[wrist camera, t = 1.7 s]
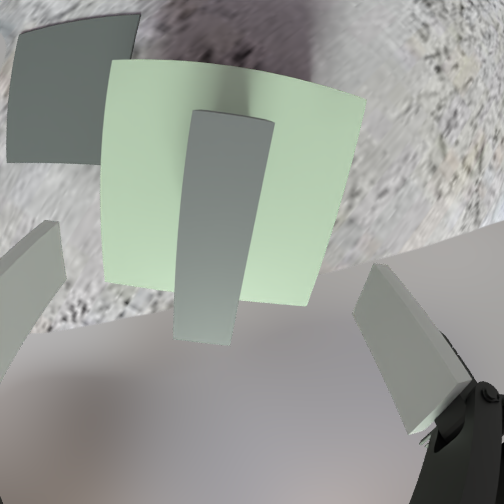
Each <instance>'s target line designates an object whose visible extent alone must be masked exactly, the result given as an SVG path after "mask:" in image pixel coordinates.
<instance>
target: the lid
mask: <svg viewBox="0 0 504 504" xmlns="http://www.w3.org/2000/svg"><path fill="white" fill-rule="evenodd" d="M366 101H367V100H366V99H363V98H361V97H358V96H355V95H352V94H349V93H346V92H343V91H339V90H336V89H333V88H330V87H326V86H323V85H319V84H316V83H312V82H308V81H304V80H300V79H296V78H292V77H288V76H283V75H279V74H274V73H269V72H264V71H259V70H253V69H247V68H241V67H235V66H228V65H220V64H212V63H202V62H191V61H176V60H148V59H132V60H112V64H111V70H110V76H109V82H108V89H107V96H106V104H105V113H104V123H103V134H102V149H101V174H100V213H101V238H102V253H103V265H104V276H105V282H110V283H116V284H122V285H129V286H135V287H142V288H148V289H155V290H162V291H169V292H174V326H173V339H176V340H185V341H192V342H201V343H210V344H219V345H230V343H231V338H232V333H233V328H234V323H235V318H236V312H237V307H238V303H239V300H244V301H254V302H263V303H274V304H285V305H298V306H307V303H308V301H309V298H310V295H311V292H312V290H313V287H314V284H315V281H316V278H317V275H318V272H319V269H320V266H321V263H322V260H323V257H324V254H325V251H326V248H327V245H328V242H329V239H330V236H331V233H332V229H333V226H334V223H335V220H336V216H337V213H338V210H339V206H340V203H341V199H342V196H343V193H344V189H345V185H346V182H347V178H348V175H349V171H350V167H351V163H352V160H353V156H354V152H355V148H356V144H357V140H358V136H359V132H360V128H361V123H362V119H363V115H364V110H365V106H366Z"/></svg>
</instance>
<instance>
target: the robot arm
mask: <svg viewBox="0 0 504 504" xmlns="http://www.w3.org/2000/svg"><path fill="white" fill-rule="evenodd" d="M66 279H67V278H66V272H65V266H64V259H63V252H62V245H61V236H60V227H59V222H57V221H48V220H45V221H43V222H42V223H41V224H39V225H38V226H37V227H36V228H35V229H33V230H32V231H31V232H30V233H29V234H27V235H26V236H25V237H24V238H23V239H21V240H20V241H19V242H18V243H17V244H16V245H15V246H13V247H12V248H11V249H10V250H9V251H8V252H7V253H6V254H5V255H3V256H2V257H1V258H0V383H1V381H2V379H3V377H4V375H5V374H6V372H7V370H8V368H9V366H10V364H11V363H12V361H13V359H14V357H15V356H16V354H17V352H18V351H19V349H20V347H21V346H22V344H23V342H24V341H25V339H26V338H27V336H28V334H29V333H30V331H31V330H32V328H33V326H34V325H35V323H36V322H37V320H38V319H39V317H40V316H41V314H42V313H43V311H44V310H45V308H46V307H47V306H48V304H49V303H50V301H51V300H52V298H53V297H54V296H55V294H56V293H57V291H58V290H59V289H60V287H61V286H62V285H63V283H64V282H65V281H66ZM352 315H353V317H354V319H355V321H356V323H357V325H358V327H359V329H360V331H361V333H362V335H363V337H364V339H365V341H366V343H367V345H368V347H369V349H370V351H371V353H372V356H373V358H374V360H375V362H376V364H377V366H378V368H379V370H380V372H381V375H382V377H383V379H384V381H385V383H386V385H387V388H388V390H389V392H390V394H391V397H392V399H393V401H394V403H395V406H396V408H397V410H398V412H399V415H400V417H401V419H402V422H403V424H404V426H405V429H406V431H407V434H408V435H410V434H413V433H417V432H420V431H424V430H425V429H426V428H427V427H428V426H429V425H430V424H431V423H432V422H433V421H435V423H436V425H437V427H436V428H434V429H433V430H432V431H431V432H430V433H429V434H428V435H427V436H426V437H424V438H423V439H422V440H421V442H420V443H419V445H422V444H424V443H425V442H426V441H427V440H428V439H430V441H429V443H428V444H427V445H425V447H426V448H427V452H426V455H425V459H424V462H423V466H422V469H421V472H420V475H419V478H418V481H417V484H416V487H415V490H414V492H413V495H412V498H411V500H410V503H409V504H504V443H502V436H503V435H504V395H502V394H499V393H498V391H497V390H496V389H495V388H494V386H492V385H491V384H489V383H487V382H484V381H482V382H479V383H477V382H476V380H475V379H474V377H473V376H472V374H471V373H470V371H469V369H468V368H467V366H466V365H465V363H464V362H463V360H462V359H461V357H460V356H459V355H457V352H456V350H455V349H454V348H452V344H451V343H450V342H449V340H448V339H447V337H446V336H445V335H444V334H443V333H441V332H440V331H439V330H438V328H437V327H436V326H435V324H434V323H433V322H432V320H431V319H430V318H429V316H428V315H427V314H426V312H425V311H424V310H423V308H422V307H421V306H420V304H419V303H418V302H417V301H416V299H415V298H414V297H413V296H412V294H411V293H410V292H409V291H408V289H407V288H406V287H405V285H404V284H403V283H402V282H401V281H400V279H399V278H398V277H397V276H396V274H395V273H394V272H393V271H392V270H391V268H390V267H389V266H388V265H383V264H376V263H374V264H373V266H372V268H371V271H370V273H369V276H368V278H367V281H366V283H365V285H364V288H363V290H362V293H361V295H360V297H359V299H358V302H357V304H356V306H355V308H354V311H353V312H352ZM0 504H3V502H2V500H1V497H0Z"/></svg>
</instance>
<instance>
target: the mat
mask: <svg viewBox="0 0 504 504" xmlns="http://www.w3.org/2000/svg"><path fill="white" fill-rule="evenodd" d="M140 17H141V15H140V14H135V15H120V16H109V17H100V18H93V19H86V20H80V21H74V22H69V23H63V24H59V25H54V26H50V27H46V28H42V29H38V30H34V31H30V32H27V33H23V34H20V35H19V37H18V42H17V46H16V51H15V56H14V62H13V68H12V74H11V82H10V90H9V100H8V112H7V137H6V152H7V163H70V164H92V165H101V149H102V134H103V123H104V113H105V104H106V96H107V89H108V82H109V76H110V70H111V64H112V60H131V56H132V51H133V46H134V42H135V37H136V33H137V29H138V25H139V21H140Z"/></svg>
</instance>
